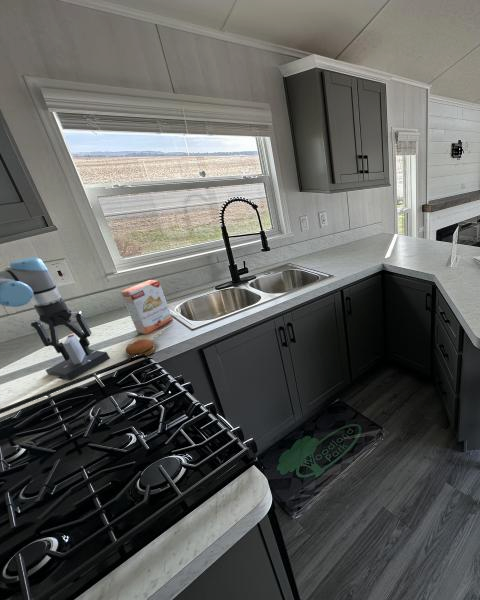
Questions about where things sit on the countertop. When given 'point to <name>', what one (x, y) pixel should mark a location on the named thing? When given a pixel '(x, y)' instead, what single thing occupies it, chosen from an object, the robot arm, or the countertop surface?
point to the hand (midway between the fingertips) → (78, 355)
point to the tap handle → (74, 349)
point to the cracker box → (147, 306)
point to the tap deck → (78, 365)
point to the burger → (140, 347)
